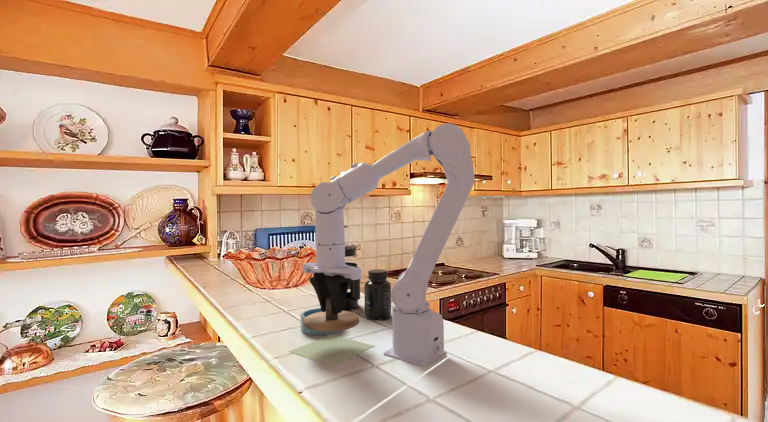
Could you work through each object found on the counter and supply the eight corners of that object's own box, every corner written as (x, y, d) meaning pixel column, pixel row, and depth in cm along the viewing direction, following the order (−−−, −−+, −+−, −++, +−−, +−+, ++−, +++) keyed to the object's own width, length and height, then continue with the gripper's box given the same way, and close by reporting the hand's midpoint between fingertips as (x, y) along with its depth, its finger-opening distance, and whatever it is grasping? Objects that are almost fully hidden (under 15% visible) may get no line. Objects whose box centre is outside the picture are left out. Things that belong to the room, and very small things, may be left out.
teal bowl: (348, 328, 91) (348, 311, 91) (321, 339, 84) (321, 321, 84) (321, 321, 97) (320, 305, 97) (293, 332, 89) (292, 315, 89)
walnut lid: (370, 320, 79) (370, 296, 79) (332, 335, 70) (331, 309, 70) (331, 311, 85) (331, 289, 85) (291, 324, 77) (291, 300, 76)
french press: (316, 307, 110) (315, 226, 109) (341, 300, 117) (340, 224, 116) (345, 314, 102) (344, 227, 101) (370, 307, 109) (368, 225, 108)
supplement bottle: (359, 319, 98) (358, 272, 98) (373, 312, 104) (372, 267, 104) (383, 323, 95) (383, 273, 94) (396, 315, 101) (395, 269, 100)
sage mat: (374, 347, 79) (374, 345, 79) (332, 367, 69) (332, 366, 69) (332, 335, 86) (332, 334, 86) (288, 352, 77) (288, 351, 77)
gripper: (290, 244, 78) (292, 310, 79) (343, 248, 70) (344, 323, 70) (316, 240, 84) (317, 303, 84) (368, 244, 75) (369, 313, 76)
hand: (331, 311), depth 78 cm, fingers closed on walnut lid, 2 cm apart
